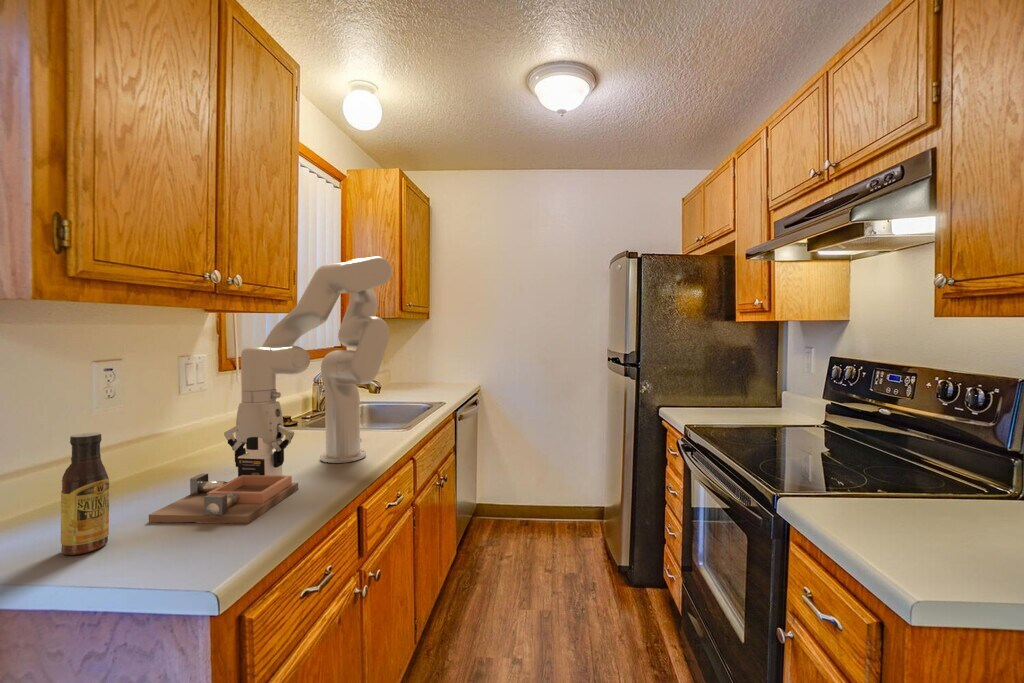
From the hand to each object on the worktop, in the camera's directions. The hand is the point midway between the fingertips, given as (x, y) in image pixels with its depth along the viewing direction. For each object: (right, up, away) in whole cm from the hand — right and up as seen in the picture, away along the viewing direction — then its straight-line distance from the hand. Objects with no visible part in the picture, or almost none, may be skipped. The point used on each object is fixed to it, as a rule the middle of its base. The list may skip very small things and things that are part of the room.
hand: (259, 465), depth 118 cm
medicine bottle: (0, -4, 0) cm, 4 cm away
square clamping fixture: (+1, -4, -15) cm, 16 cm away
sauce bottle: (-11, -5, -35) cm, 37 cm away
